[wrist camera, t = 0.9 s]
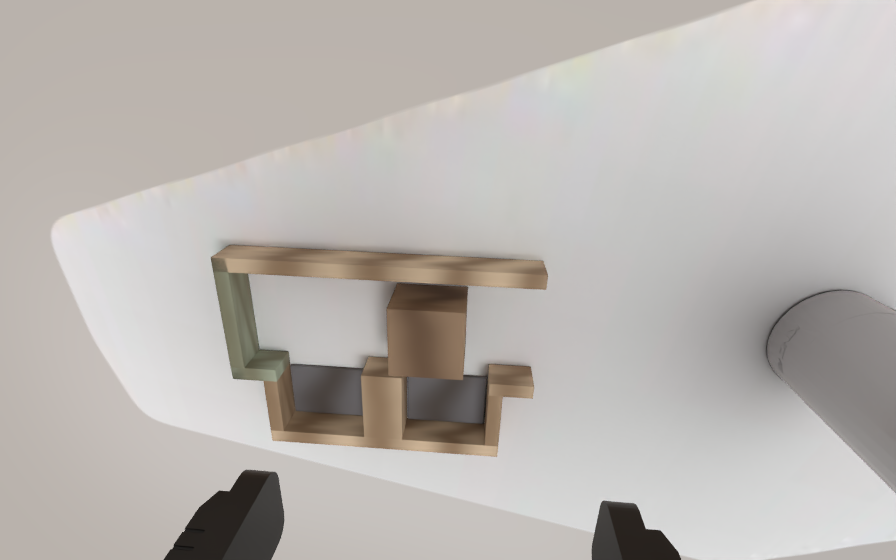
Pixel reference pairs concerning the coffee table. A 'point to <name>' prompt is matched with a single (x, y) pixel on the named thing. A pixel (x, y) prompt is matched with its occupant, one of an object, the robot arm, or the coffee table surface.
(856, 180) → the coffee table surface
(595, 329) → the coffee table surface
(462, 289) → the walnut block
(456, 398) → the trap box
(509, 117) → the coffee table surface
